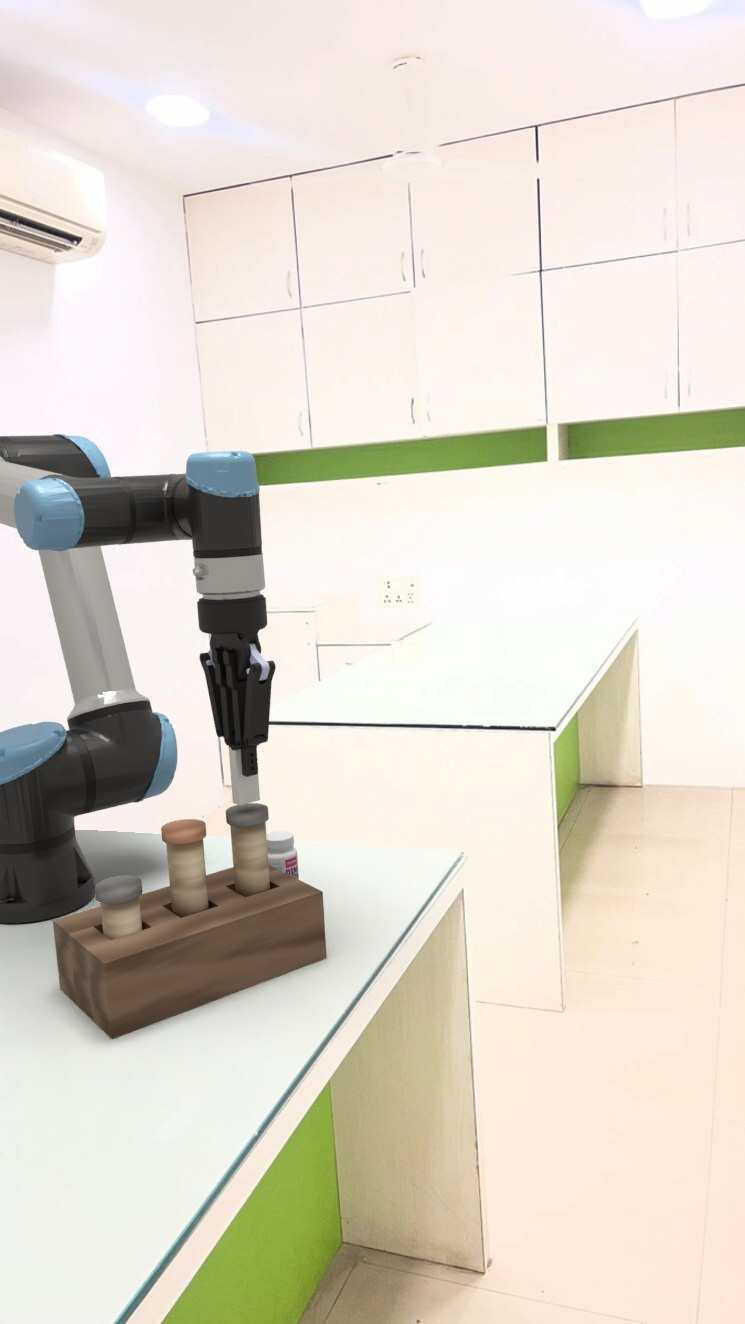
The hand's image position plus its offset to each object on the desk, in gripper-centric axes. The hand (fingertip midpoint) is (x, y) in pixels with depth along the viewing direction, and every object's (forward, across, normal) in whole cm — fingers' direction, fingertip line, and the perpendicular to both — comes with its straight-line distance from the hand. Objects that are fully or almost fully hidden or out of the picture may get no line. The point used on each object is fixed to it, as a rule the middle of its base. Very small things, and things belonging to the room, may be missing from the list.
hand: (246, 801), depth 118 cm
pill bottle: (+18, -12, +11) cm, 25 cm away
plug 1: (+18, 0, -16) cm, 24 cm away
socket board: (+18, 0, -8) cm, 20 cm away
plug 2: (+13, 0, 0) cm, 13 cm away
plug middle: (+13, 0, -8) cm, 15 cm away
